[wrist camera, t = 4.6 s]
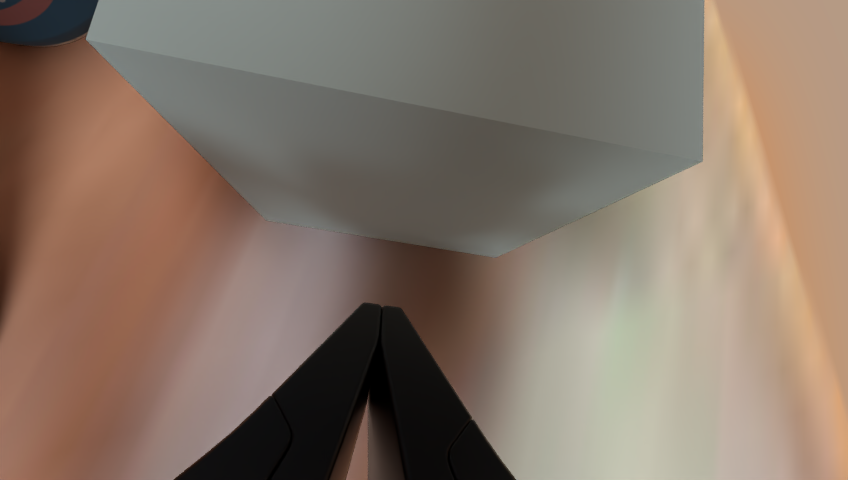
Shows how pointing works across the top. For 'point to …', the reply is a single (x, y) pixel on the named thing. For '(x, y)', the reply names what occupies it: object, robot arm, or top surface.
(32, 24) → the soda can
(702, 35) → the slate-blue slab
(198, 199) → the top surface
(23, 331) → the top surface
